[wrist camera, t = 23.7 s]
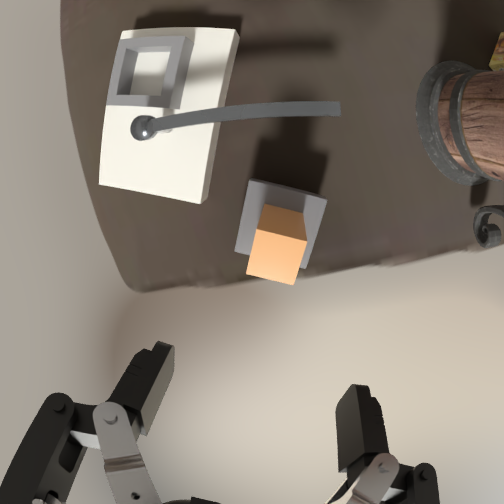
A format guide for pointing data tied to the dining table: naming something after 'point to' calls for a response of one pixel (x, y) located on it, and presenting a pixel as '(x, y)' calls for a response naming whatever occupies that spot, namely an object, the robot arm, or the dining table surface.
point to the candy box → (498, 55)
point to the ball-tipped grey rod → (230, 115)
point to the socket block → (166, 109)
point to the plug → (278, 229)
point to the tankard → (465, 131)
